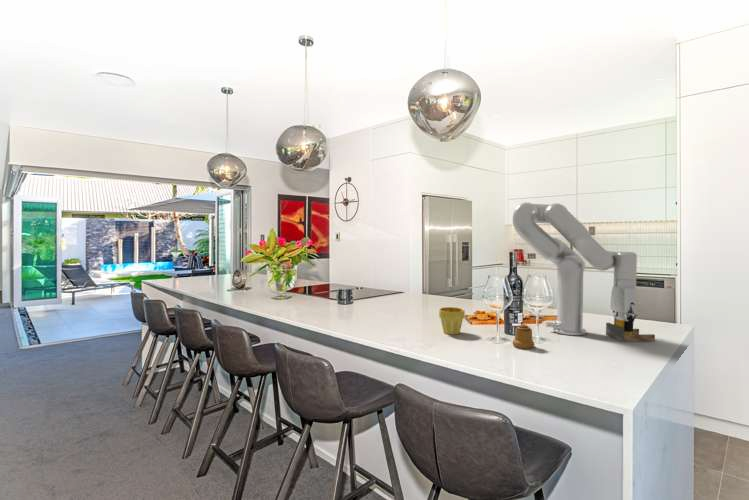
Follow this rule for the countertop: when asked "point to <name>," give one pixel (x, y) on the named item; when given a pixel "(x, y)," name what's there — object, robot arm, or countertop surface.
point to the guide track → (619, 335)
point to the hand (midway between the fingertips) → (623, 329)
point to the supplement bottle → (621, 322)
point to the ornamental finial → (523, 337)
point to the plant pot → (451, 319)
